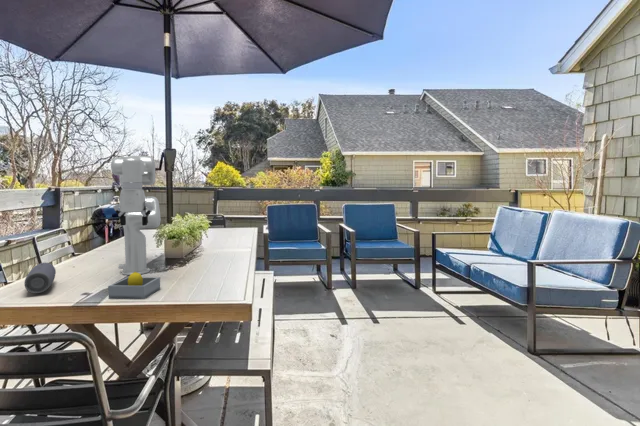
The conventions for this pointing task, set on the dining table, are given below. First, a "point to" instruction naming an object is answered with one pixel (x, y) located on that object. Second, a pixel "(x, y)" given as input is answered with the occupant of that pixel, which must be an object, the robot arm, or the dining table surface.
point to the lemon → (135, 279)
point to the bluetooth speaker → (40, 278)
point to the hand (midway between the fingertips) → (134, 225)
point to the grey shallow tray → (134, 289)
